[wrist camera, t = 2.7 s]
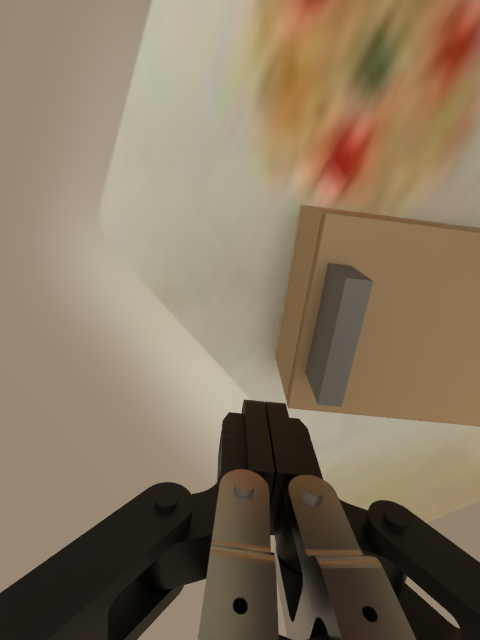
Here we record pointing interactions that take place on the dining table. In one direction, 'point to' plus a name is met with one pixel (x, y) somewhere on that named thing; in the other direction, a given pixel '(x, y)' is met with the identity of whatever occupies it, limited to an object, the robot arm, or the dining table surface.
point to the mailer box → (302, 274)
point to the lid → (391, 323)
